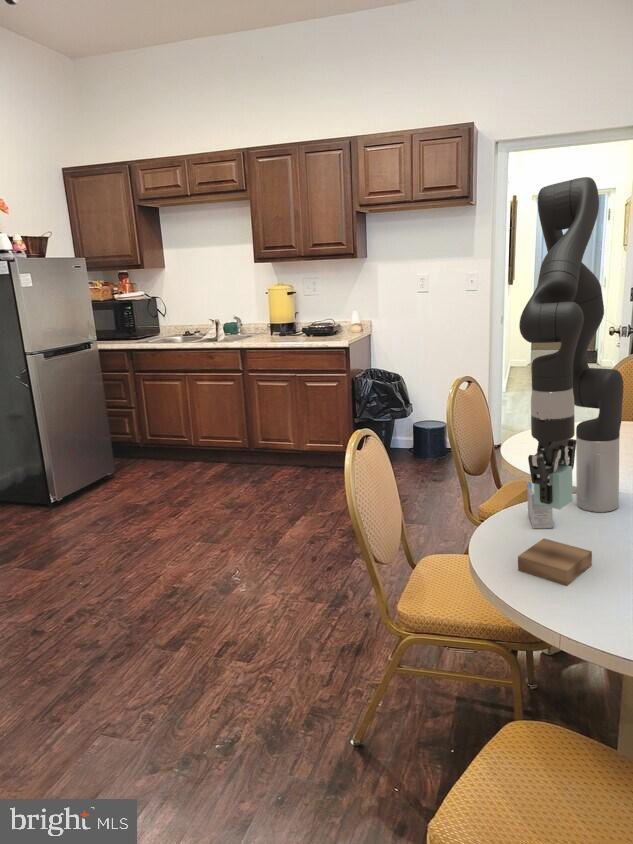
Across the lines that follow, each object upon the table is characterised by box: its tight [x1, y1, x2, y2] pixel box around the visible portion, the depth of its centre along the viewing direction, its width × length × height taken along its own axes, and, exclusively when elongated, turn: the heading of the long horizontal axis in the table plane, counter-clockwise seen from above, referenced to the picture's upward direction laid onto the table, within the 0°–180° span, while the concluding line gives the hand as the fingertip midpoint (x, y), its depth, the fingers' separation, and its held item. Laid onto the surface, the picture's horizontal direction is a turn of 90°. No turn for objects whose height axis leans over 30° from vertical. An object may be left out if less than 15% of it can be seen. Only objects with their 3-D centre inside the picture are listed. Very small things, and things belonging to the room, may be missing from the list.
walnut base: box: [517, 538, 593, 587], centre depth 119 cm, size 10×10×3 cm
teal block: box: [534, 465, 573, 510], centre depth 116 cm, size 5×5×7 cm
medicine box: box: [526, 481, 554, 530], centre depth 140 cm, size 8×4×9 cm, turn 168°
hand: (553, 497), depth 116 cm, fingers closed on teal block, 5 cm apart
